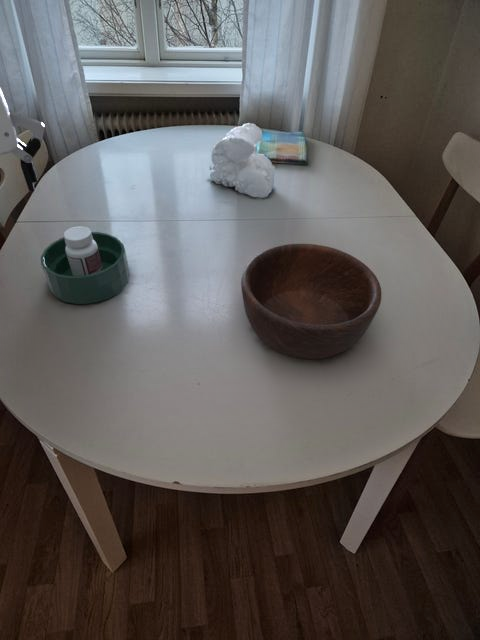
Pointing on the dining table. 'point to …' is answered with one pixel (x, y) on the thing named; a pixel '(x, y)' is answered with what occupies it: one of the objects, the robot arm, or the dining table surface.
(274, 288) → the wooden bowl
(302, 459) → the dining table surface
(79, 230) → the pill bottle
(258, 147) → the colourful book
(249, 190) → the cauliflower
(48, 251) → the green faceted bowl
